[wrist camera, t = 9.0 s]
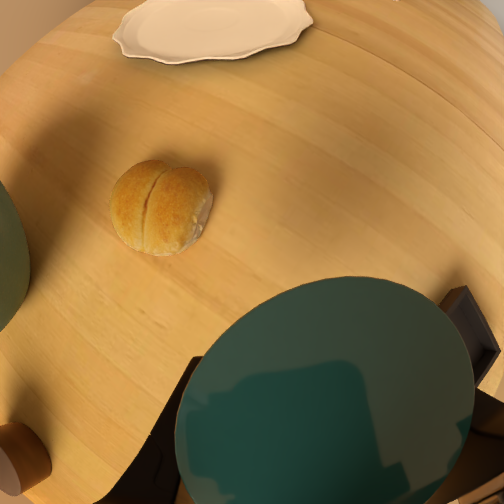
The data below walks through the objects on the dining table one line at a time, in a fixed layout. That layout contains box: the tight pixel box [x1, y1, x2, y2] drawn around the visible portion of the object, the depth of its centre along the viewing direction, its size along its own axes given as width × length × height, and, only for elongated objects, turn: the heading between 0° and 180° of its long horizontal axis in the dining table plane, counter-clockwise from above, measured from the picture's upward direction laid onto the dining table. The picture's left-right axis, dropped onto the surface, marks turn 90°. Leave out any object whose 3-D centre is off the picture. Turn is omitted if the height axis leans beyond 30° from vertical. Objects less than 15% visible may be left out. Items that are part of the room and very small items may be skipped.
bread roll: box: [109, 160, 213, 256], centre depth 23 cm, size 8×9×4 cm
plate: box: [112, 0, 313, 65], centre depth 32 cm, size 29×29×2 cm
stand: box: [0, 422, 52, 496], centre depth 15 cm, size 7×7×6 cm
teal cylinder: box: [175, 276, 475, 504], centre depth 9 cm, size 6×6×10 cm
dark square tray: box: [438, 285, 501, 388], centre depth 21 cm, size 9×9×2 cm
